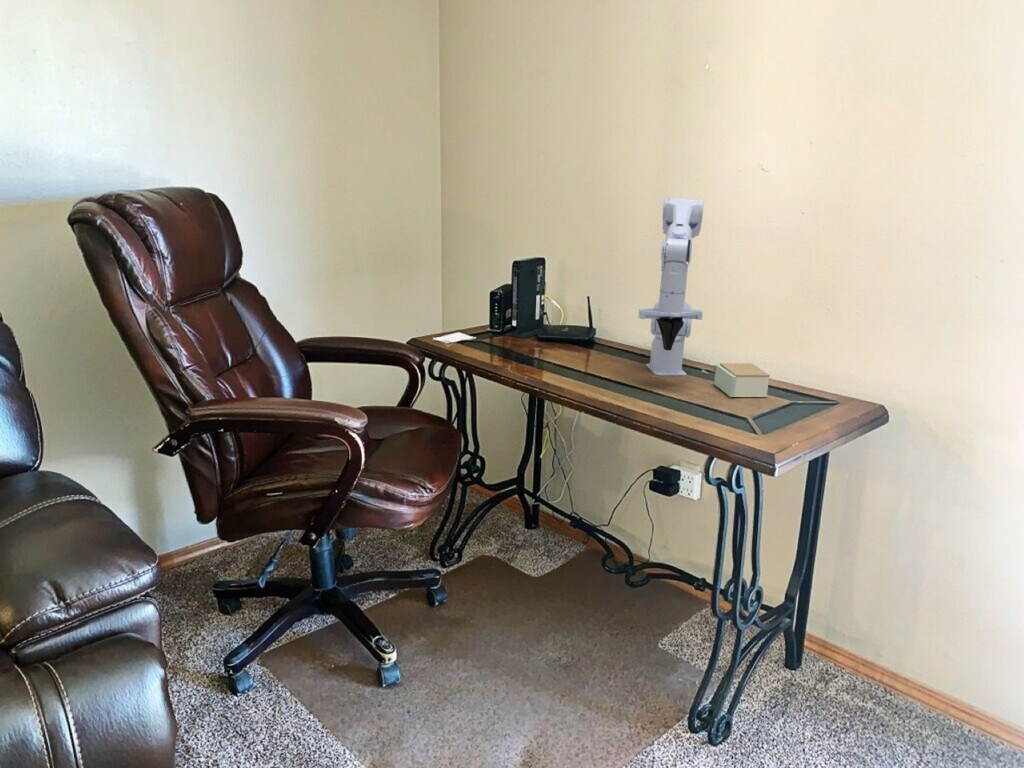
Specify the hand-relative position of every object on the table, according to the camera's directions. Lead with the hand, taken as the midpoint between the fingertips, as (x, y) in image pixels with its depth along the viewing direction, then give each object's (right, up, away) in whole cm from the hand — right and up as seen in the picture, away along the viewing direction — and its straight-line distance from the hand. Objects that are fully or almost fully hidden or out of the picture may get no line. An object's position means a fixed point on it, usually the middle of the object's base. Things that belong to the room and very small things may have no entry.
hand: (667, 349), depth 184 cm
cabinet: (+18, -10, +2) cm, 21 cm away
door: (+13, -9, +1) cm, 16 cm away
